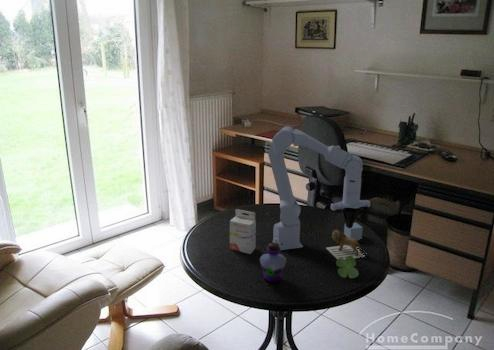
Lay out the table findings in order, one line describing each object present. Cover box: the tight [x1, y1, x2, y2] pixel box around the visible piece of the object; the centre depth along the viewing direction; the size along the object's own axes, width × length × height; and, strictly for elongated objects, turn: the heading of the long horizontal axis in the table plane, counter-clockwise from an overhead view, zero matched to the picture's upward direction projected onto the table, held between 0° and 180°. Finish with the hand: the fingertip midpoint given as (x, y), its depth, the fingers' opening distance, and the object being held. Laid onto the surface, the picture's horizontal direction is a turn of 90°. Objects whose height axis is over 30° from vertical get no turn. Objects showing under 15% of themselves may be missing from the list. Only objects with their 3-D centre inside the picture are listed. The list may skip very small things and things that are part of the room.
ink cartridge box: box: [229, 208, 257, 255], centre depth 148 cm, size 9×5×15 cm, turn 65°
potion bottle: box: [259, 242, 288, 284], centre depth 129 cm, size 9×9×12 cm
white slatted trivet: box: [325, 244, 366, 260], centre depth 148 cm, size 12×10×1 cm
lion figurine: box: [331, 229, 364, 256], centre depth 147 cm, size 12×4×7 cm, turn 60°
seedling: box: [335, 256, 360, 279], centre depth 134 cm, size 7×8×6 cm
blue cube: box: [343, 222, 364, 241], centre depth 159 cm, size 5×5×6 cm
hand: (348, 226), depth 146 cm, fingers closed
